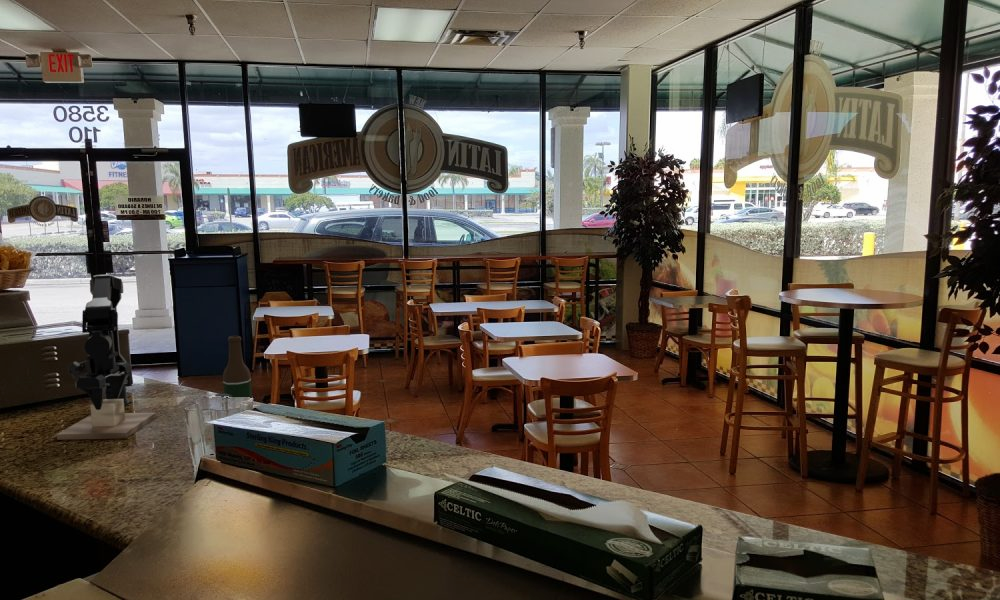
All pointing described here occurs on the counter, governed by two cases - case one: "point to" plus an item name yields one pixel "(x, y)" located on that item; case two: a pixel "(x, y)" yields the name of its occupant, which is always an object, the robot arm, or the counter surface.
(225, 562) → the counter surface
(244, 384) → the beer bottle
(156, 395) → the counter surface
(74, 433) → the wooden board
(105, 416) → the maple cube
